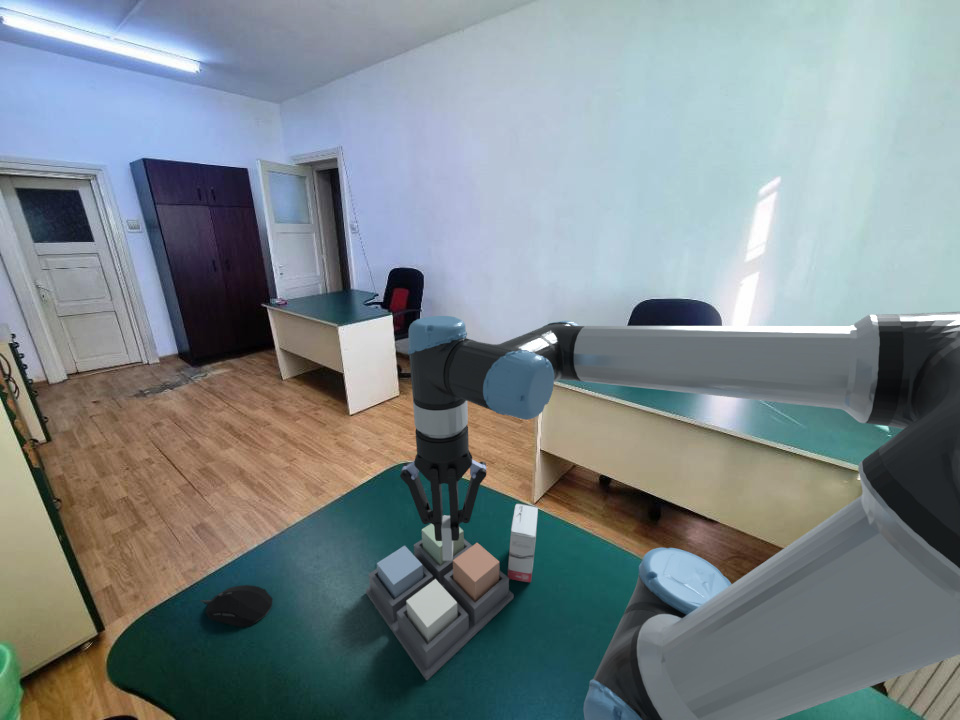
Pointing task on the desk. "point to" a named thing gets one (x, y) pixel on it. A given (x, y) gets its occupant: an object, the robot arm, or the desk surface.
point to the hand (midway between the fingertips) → (448, 553)
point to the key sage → (439, 544)
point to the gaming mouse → (239, 605)
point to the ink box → (522, 542)
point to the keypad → (456, 633)
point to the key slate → (399, 572)
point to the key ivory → (431, 610)
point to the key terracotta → (476, 571)
